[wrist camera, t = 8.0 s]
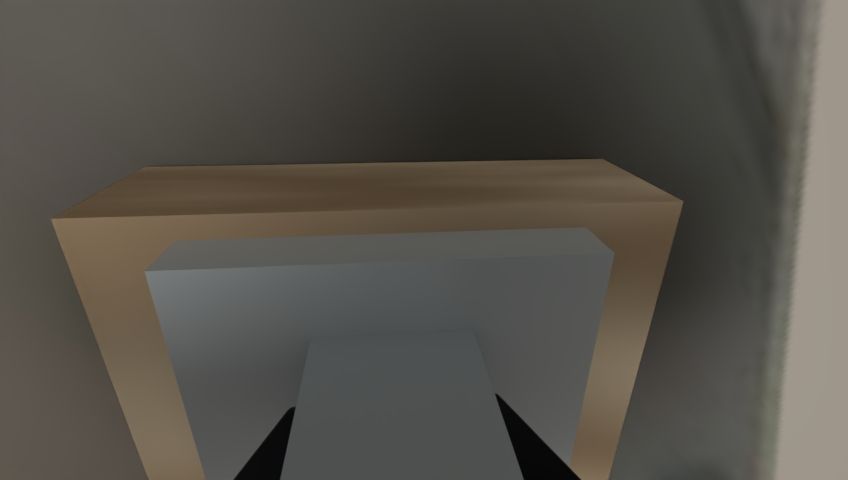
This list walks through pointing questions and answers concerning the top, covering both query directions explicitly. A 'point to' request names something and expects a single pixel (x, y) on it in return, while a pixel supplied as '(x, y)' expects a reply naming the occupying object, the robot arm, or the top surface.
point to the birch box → (351, 215)
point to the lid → (382, 347)
